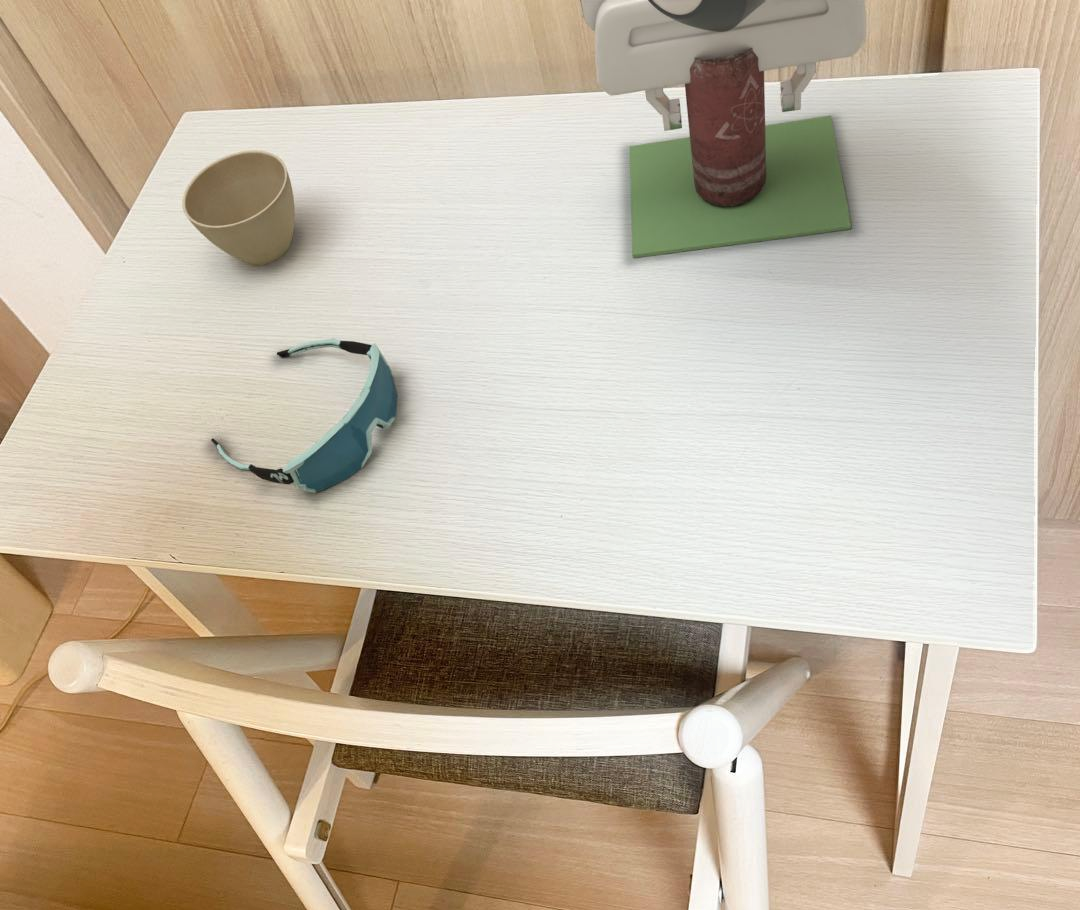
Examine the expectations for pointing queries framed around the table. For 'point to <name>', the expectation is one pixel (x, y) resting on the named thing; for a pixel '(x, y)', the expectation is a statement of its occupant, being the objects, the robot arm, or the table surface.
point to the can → (727, 128)
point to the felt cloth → (776, 212)
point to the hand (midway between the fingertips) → (731, 116)
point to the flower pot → (244, 206)
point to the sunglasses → (338, 427)
